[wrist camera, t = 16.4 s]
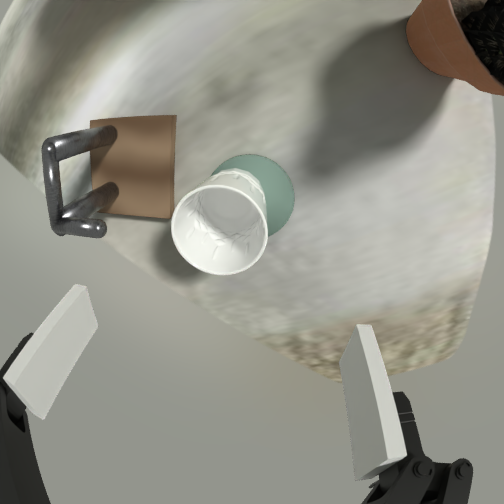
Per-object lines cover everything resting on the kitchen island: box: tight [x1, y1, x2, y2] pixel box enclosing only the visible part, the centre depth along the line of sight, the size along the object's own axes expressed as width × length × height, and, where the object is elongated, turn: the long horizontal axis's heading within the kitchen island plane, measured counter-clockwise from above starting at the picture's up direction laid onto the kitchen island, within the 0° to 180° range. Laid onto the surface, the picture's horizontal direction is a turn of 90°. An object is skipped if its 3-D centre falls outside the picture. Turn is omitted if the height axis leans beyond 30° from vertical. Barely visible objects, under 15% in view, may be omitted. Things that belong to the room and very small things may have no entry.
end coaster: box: [212, 155, 294, 236], centre depth 31 cm, size 10×10×1 cm
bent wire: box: [42, 125, 119, 238], centre depth 24 cm, size 9×7×11 cm
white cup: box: [171, 168, 268, 275], centre depth 26 cm, size 8×8×10 cm
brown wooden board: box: [90, 115, 177, 219], centre depth 30 cm, size 12×11×2 cm
